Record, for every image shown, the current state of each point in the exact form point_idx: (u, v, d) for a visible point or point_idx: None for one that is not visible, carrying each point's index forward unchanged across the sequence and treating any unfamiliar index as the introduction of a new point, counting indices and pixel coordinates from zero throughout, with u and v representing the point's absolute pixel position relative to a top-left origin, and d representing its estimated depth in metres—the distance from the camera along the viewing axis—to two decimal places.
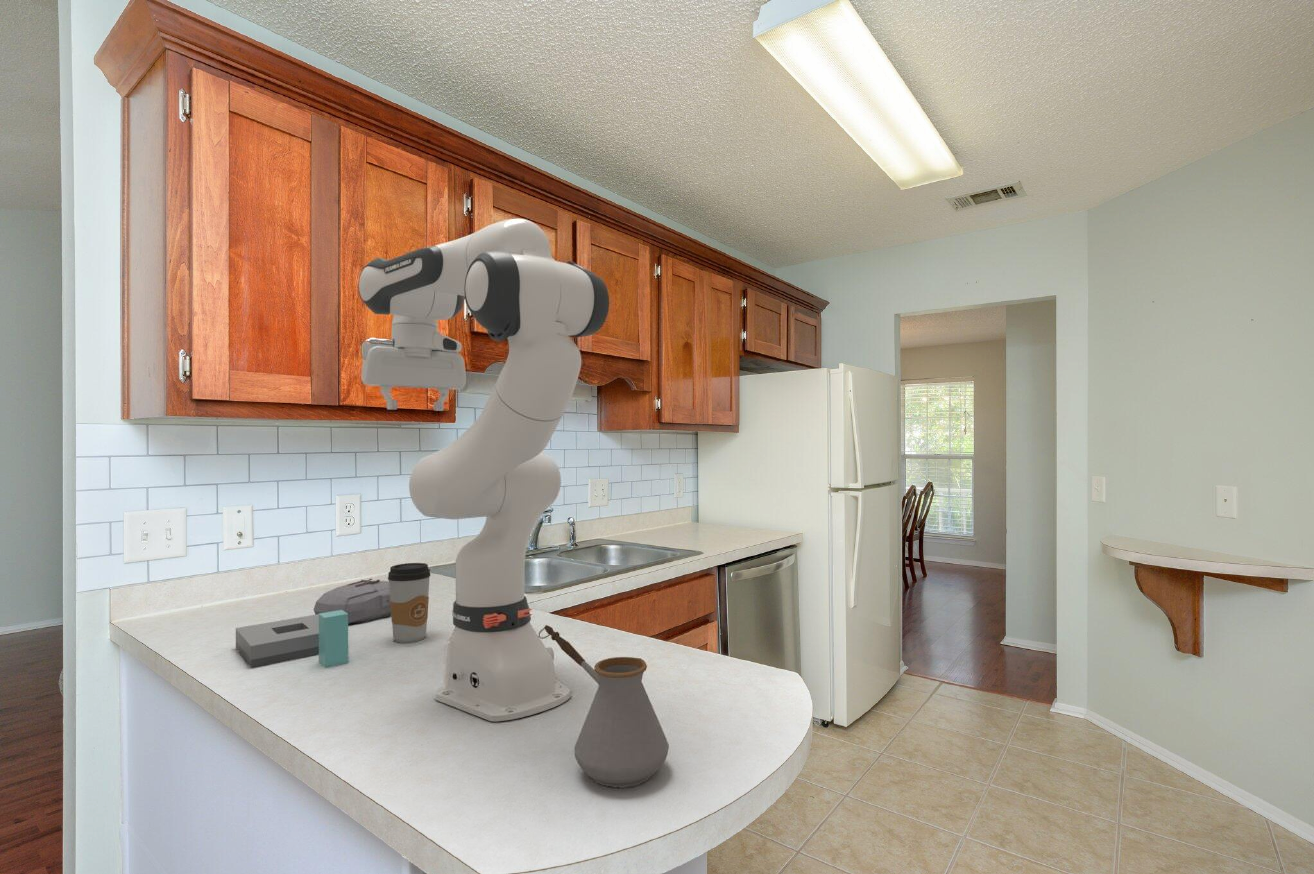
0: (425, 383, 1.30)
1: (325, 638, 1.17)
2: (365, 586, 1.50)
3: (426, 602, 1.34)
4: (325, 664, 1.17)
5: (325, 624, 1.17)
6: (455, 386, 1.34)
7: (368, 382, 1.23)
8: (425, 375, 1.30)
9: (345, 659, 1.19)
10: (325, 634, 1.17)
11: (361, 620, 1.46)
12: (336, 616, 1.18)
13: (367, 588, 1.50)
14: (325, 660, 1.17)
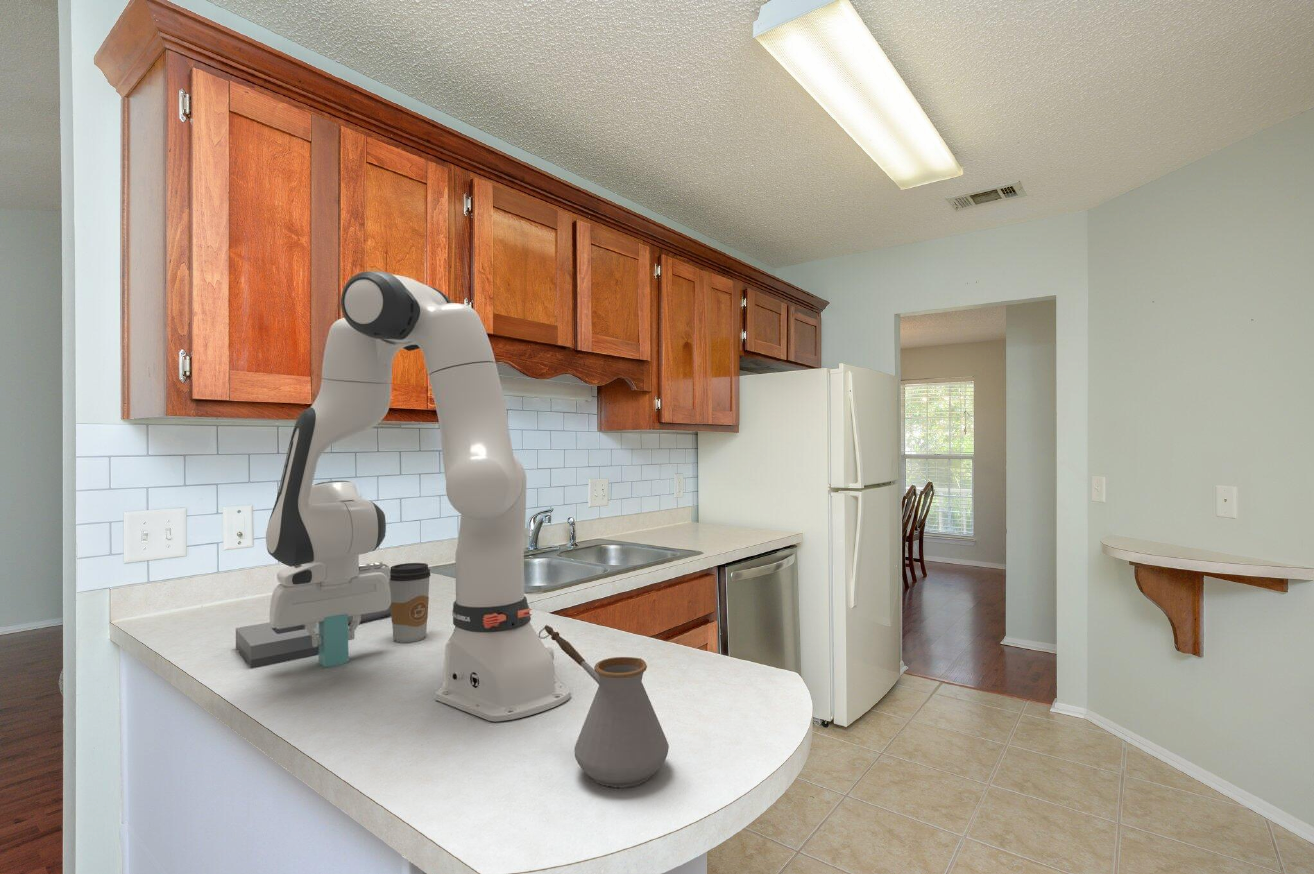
0: None
1: (325, 638, 1.17)
2: None
3: (426, 602, 1.34)
4: (325, 664, 1.17)
5: (325, 624, 1.17)
6: None
7: None
8: None
9: (345, 658, 1.19)
10: (325, 634, 1.17)
11: None
12: (336, 616, 1.18)
13: None
14: (325, 660, 1.17)
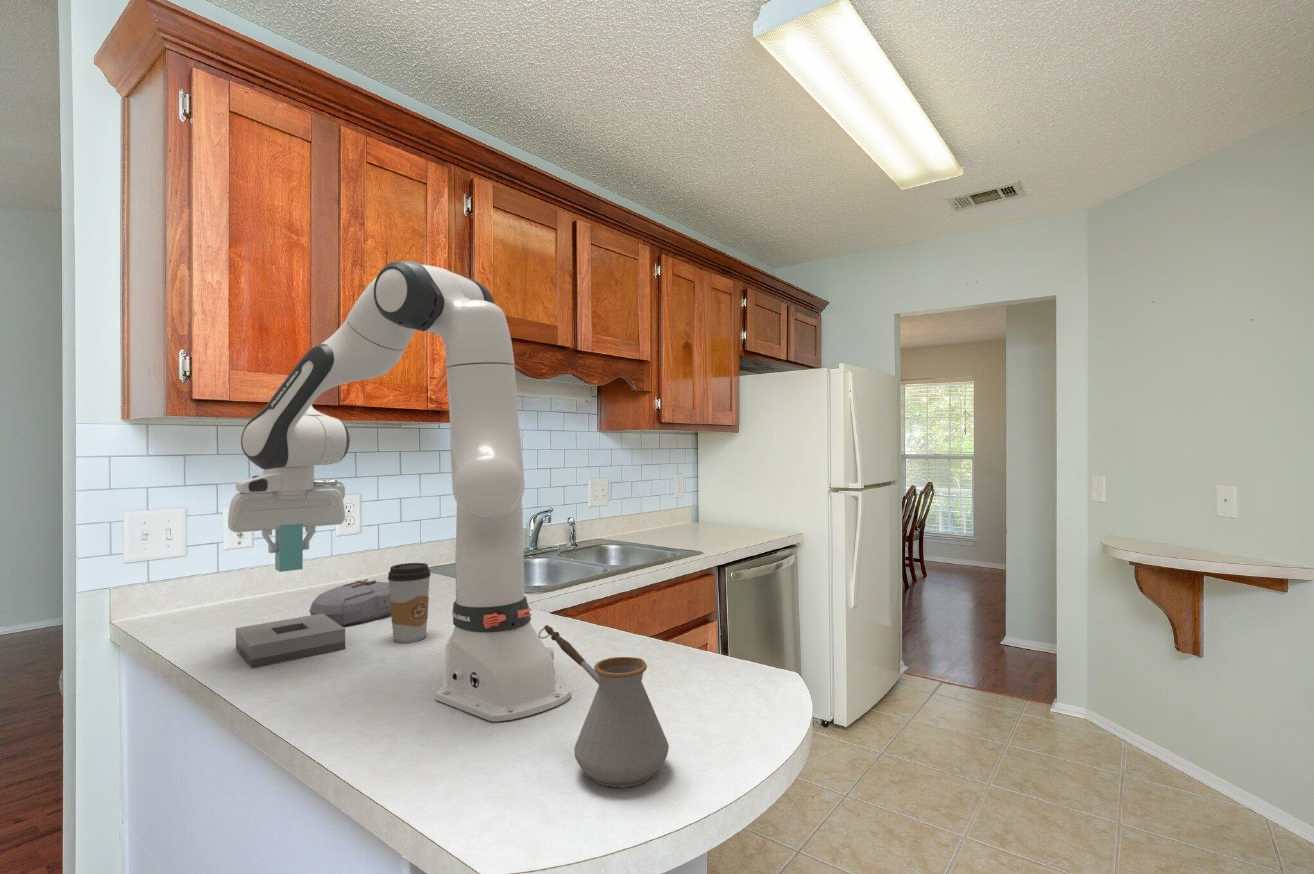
0: None
1: (280, 544, 1.26)
2: (361, 587, 1.50)
3: (426, 602, 1.34)
4: (280, 569, 1.26)
5: (280, 531, 1.26)
6: None
7: None
8: None
9: (299, 565, 1.28)
10: (280, 541, 1.26)
11: (358, 621, 1.46)
12: (291, 525, 1.27)
13: (363, 588, 1.49)
14: (280, 565, 1.26)
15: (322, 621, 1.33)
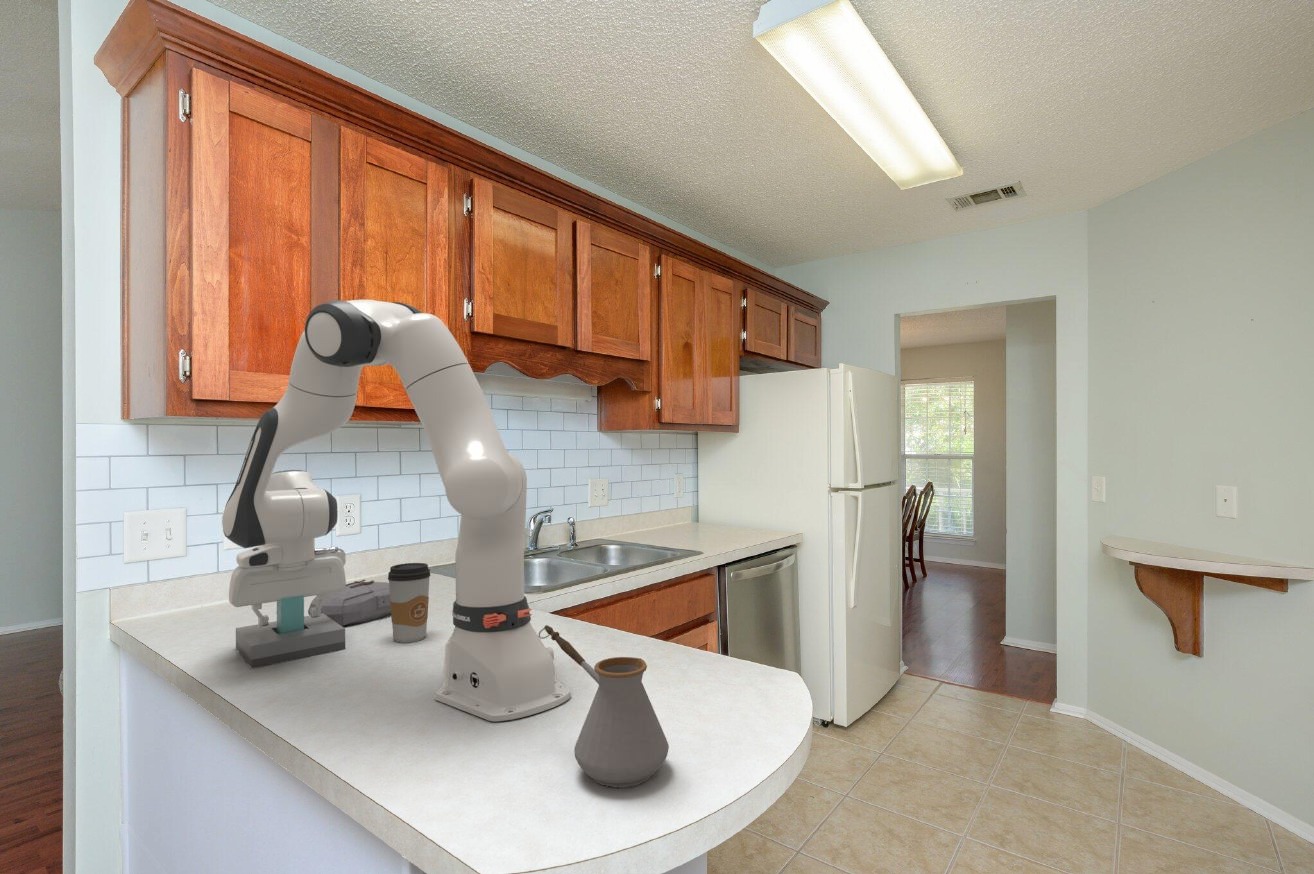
0: None
1: (282, 618, 1.26)
2: (360, 587, 1.49)
3: (426, 602, 1.34)
4: None
5: (282, 605, 1.26)
6: None
7: None
8: None
9: None
10: (282, 614, 1.26)
11: (358, 621, 1.45)
12: (292, 597, 1.27)
13: (362, 589, 1.49)
14: None
15: (322, 621, 1.33)
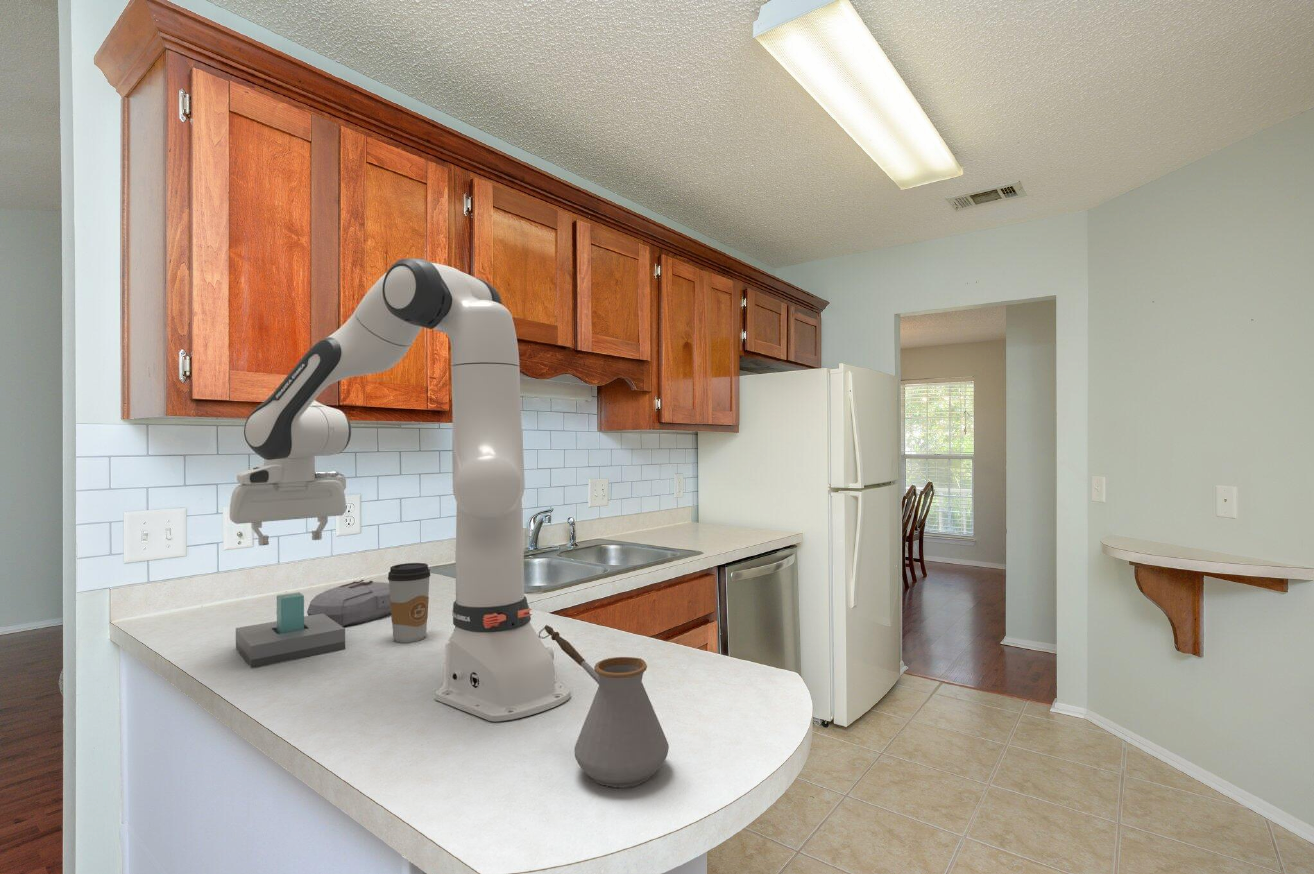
0: None
1: (282, 618, 1.26)
2: (359, 587, 1.49)
3: (426, 602, 1.34)
4: None
5: (282, 605, 1.26)
6: None
7: None
8: None
9: None
10: (282, 614, 1.26)
11: (357, 622, 1.45)
12: (292, 597, 1.27)
13: (362, 589, 1.49)
14: None
15: (322, 621, 1.33)
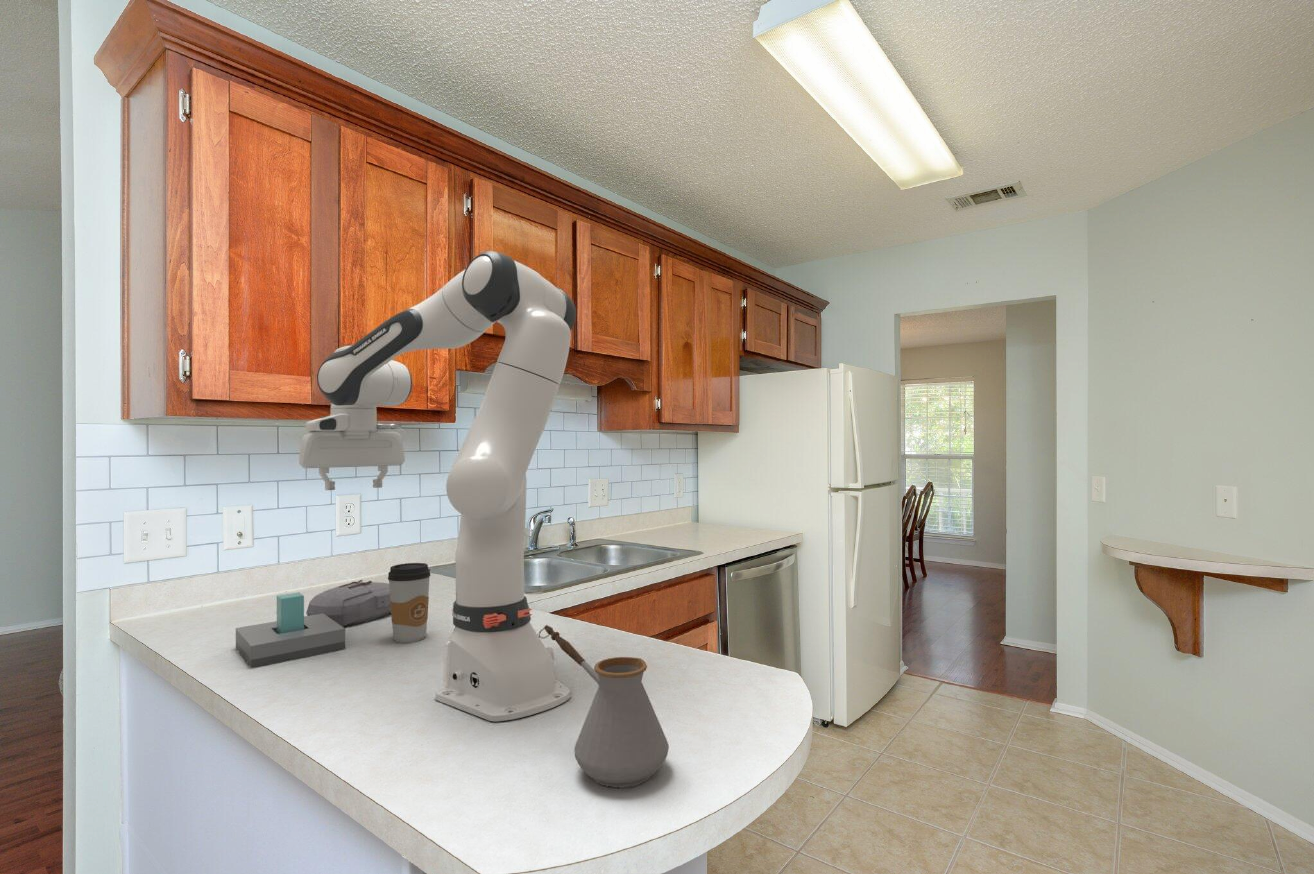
0: None
1: (282, 618, 1.26)
2: (359, 587, 1.49)
3: (426, 602, 1.34)
4: None
5: (282, 605, 1.26)
6: None
7: None
8: None
9: None
10: (282, 614, 1.26)
11: (357, 622, 1.45)
12: (292, 597, 1.27)
13: (361, 589, 1.48)
14: None
15: (322, 621, 1.33)
